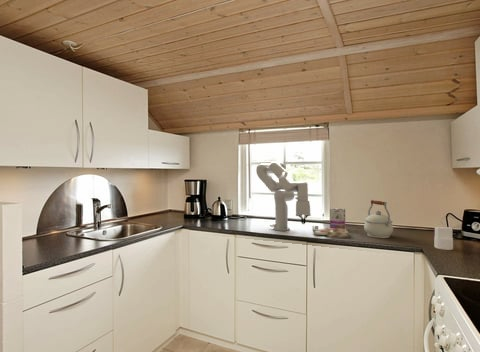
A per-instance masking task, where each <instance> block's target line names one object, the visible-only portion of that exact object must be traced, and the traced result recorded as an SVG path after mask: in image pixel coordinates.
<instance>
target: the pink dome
mask: <svg viewBox="0 0 480 352" xmlns="http://www.w3.org/2000/svg"><path fill="white" fill-rule="evenodd" d="M320 232H326V233H327V232H330V230H329V229H326V228H320Z"/></svg>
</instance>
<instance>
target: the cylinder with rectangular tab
mask: <svg viewBox="0 0 480 352" xmlns="http://www.w3.org/2000/svg"><path fill="white" fill-rule="evenodd" d="M433 241H434V243H433V244H434V245H433V246H434V248H435V249H439V250H443V251H444V250H447V251H450V250H451V251H452V250H454V238H453V227H449V226H439V227H438V226H437V227H436V226H435V227H434V240H433Z"/></svg>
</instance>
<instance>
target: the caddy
mask: <svg viewBox="0 0 480 352" xmlns="http://www.w3.org/2000/svg"><path fill="white" fill-rule="evenodd" d="M325 229H329V230H333V232H327V235H326V237H327V238H345V239H347V238H350V237H349V235H350V233H349V232H348V230H347V229H346V228H345V229H335V228H330V227H328V228H327V227H326V228H325Z"/></svg>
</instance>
